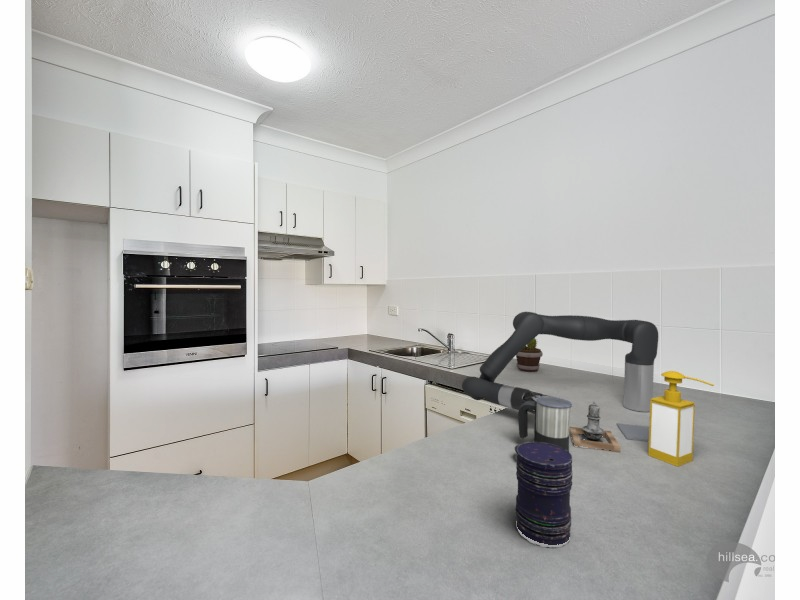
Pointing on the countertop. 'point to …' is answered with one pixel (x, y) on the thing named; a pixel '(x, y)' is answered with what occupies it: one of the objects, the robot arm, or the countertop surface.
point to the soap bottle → (672, 423)
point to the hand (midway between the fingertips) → (562, 409)
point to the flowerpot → (529, 357)
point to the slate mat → (634, 431)
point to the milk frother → (547, 421)
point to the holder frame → (611, 439)
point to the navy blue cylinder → (544, 492)
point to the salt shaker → (593, 425)
